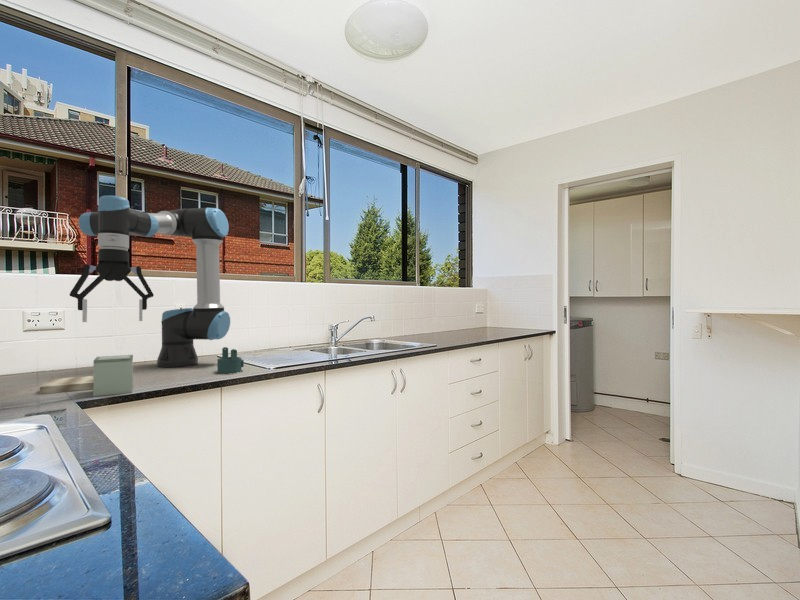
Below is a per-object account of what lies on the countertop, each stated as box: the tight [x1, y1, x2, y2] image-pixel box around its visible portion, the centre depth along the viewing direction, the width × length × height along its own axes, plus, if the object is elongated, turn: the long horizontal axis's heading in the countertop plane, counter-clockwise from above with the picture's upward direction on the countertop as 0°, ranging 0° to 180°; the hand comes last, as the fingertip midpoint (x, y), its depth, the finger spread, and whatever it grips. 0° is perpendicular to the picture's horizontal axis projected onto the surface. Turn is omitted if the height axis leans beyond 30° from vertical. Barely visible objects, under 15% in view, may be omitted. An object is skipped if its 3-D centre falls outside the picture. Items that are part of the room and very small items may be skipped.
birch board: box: [39, 375, 94, 395], centre depth 128 cm, size 14×14×2 cm
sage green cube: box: [93, 354, 134, 397], centre depth 122 cm, size 9×9×10 cm
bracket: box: [217, 346, 245, 375], centre depth 156 cm, size 9×9×9 cm
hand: (113, 321), depth 122 cm, fingers open, 13 cm apart
